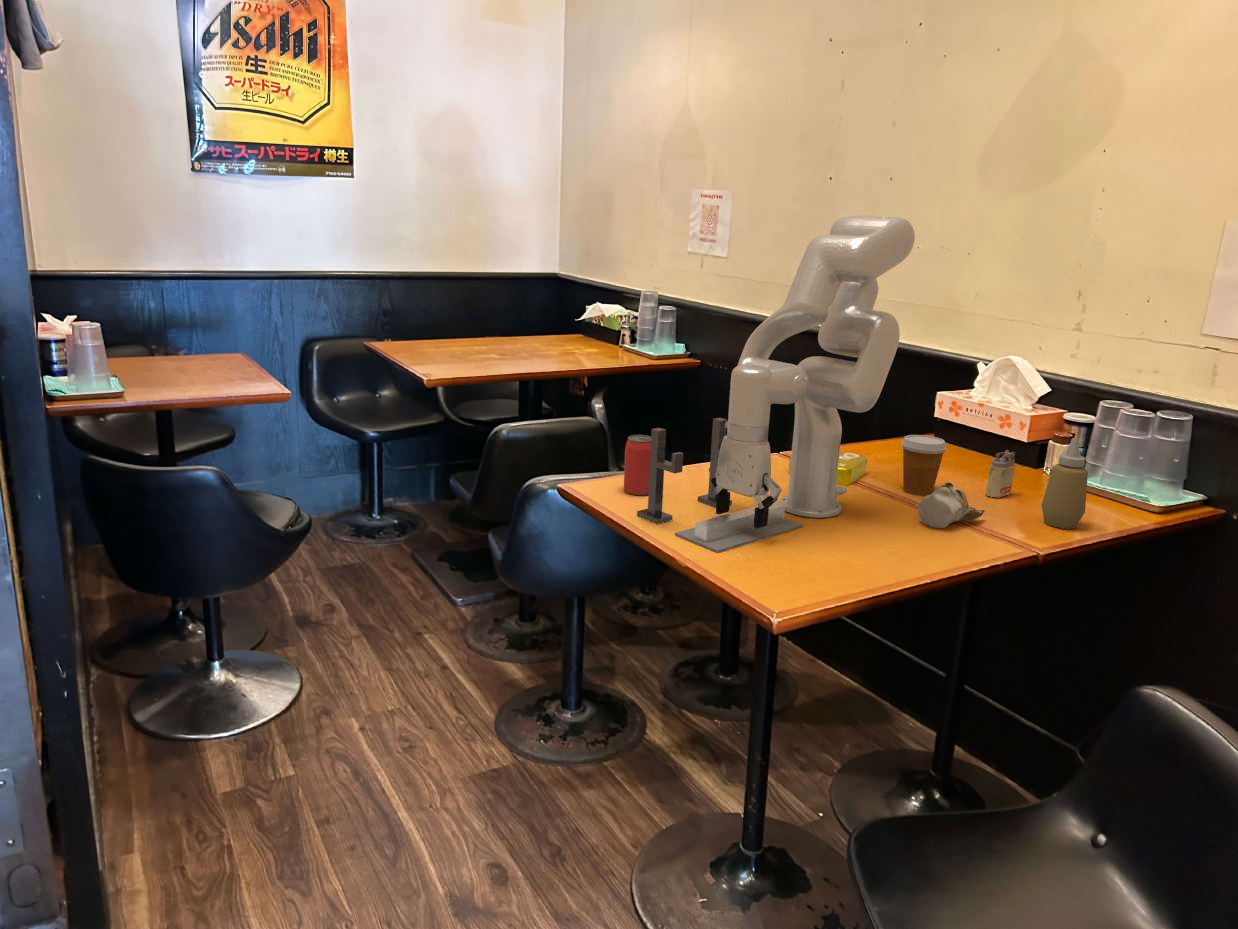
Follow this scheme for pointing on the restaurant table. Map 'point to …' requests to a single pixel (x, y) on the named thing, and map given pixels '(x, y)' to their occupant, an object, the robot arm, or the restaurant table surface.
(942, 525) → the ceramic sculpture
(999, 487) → the lighter
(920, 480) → the disposable coffee cup
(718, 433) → the hook stand
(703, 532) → the rail
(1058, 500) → the squeeze bottle
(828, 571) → the restaurant table surface
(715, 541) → the mat
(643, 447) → the beer can
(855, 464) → the element tile
